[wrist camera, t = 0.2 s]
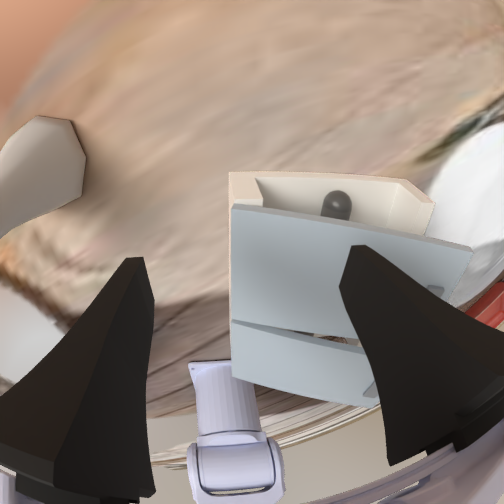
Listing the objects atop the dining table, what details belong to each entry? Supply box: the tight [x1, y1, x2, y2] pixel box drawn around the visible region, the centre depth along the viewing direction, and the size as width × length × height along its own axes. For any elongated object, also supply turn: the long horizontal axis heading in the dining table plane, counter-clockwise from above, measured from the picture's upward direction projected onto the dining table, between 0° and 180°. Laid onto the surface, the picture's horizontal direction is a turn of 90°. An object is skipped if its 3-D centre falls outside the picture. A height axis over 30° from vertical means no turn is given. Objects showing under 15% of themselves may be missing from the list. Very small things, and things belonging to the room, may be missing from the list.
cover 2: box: [230, 319, 380, 408], centre depth 21 cm, size 9×14×1 cm, turn 87°
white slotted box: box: [229, 171, 435, 347], centre depth 22 cm, size 18×14×4 cm
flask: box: [0, 116, 86, 239], centre depth 11 cm, size 7×7×10 cm
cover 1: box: [231, 203, 474, 339], centre depth 16 cm, size 9×14×1 cm, turn 87°
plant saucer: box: [465, 282, 504, 328], centre depth 39 cm, size 18×18×3 cm
